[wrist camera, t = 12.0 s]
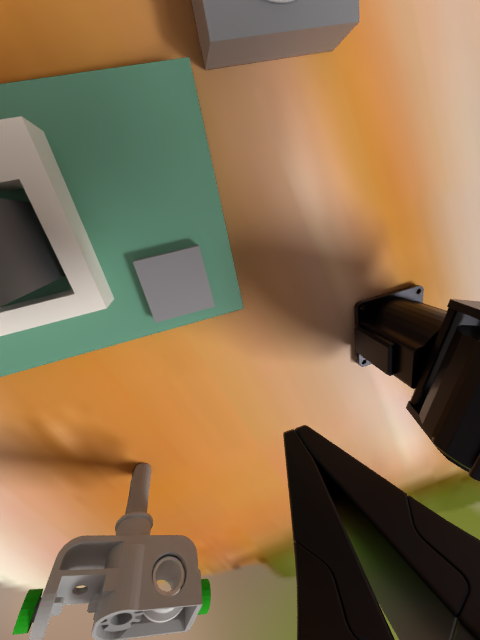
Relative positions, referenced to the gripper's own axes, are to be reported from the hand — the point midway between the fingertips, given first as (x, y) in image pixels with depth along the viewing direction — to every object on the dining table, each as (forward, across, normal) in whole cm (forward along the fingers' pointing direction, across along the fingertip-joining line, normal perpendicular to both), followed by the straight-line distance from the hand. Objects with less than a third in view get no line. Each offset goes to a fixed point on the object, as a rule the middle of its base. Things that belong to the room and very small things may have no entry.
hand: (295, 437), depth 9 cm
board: (+12, +9, -8) cm, 17 cm away
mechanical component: (+13, +11, +12) cm, 21 cm away
